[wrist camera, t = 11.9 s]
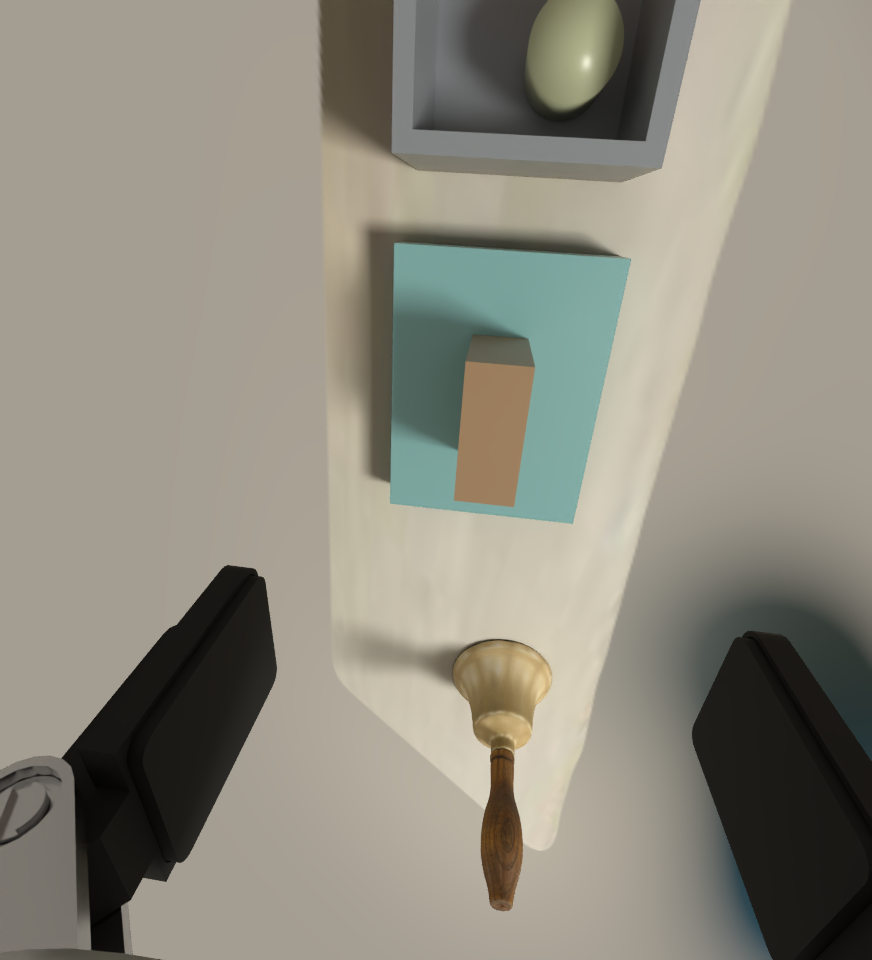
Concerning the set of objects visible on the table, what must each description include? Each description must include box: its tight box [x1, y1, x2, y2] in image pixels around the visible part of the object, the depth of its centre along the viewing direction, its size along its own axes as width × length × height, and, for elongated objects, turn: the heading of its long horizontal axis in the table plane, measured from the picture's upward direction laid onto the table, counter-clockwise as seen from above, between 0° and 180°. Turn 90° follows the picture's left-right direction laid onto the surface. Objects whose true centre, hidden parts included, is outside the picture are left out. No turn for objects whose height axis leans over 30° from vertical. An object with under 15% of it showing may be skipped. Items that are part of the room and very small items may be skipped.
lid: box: [390, 242, 631, 524], centre depth 27 cm, size 15×12×8 cm
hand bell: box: [453, 640, 552, 911], centre depth 35 cm, size 8×8×16 cm
